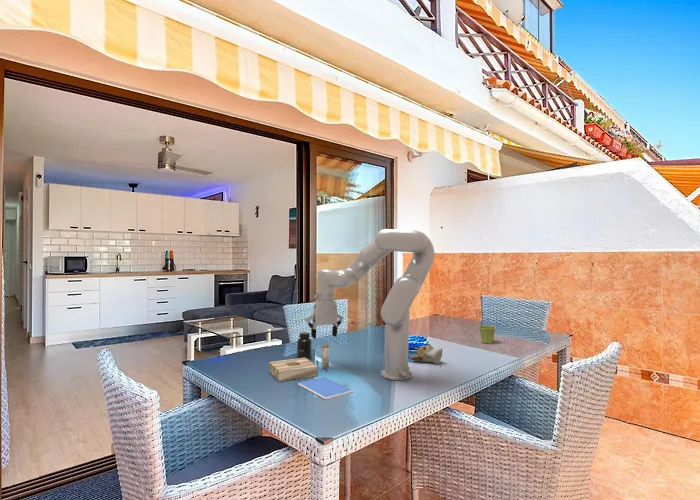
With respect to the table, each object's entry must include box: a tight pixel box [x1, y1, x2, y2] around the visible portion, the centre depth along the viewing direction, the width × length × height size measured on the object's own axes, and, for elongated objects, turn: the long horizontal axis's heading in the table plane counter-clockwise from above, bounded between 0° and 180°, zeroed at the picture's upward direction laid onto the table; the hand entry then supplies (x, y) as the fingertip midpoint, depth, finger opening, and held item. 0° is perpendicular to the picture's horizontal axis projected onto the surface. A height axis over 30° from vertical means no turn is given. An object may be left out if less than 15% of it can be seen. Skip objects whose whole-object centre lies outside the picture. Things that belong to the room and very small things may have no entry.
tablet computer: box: [297, 376, 354, 400], centre depth 143 cm, size 19×13×1 cm, turn 38°
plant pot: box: [478, 325, 497, 345], centre depth 216 cm, size 9×9×9 cm
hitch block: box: [269, 357, 319, 383], centre depth 159 cm, size 14×16×4 cm
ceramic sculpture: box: [408, 343, 443, 365], centre depth 178 cm, size 11×9×15 cm
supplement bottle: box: [296, 331, 313, 360], centre depth 182 cm, size 7×7×12 cm
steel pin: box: [321, 343, 330, 370], centre depth 167 cm, size 3×3×10 cm
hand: (324, 336), depth 167 cm, fingers open, 9 cm apart
